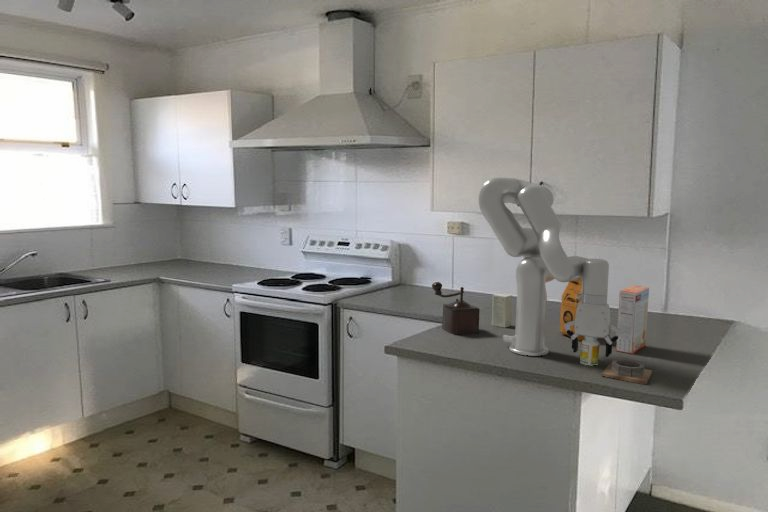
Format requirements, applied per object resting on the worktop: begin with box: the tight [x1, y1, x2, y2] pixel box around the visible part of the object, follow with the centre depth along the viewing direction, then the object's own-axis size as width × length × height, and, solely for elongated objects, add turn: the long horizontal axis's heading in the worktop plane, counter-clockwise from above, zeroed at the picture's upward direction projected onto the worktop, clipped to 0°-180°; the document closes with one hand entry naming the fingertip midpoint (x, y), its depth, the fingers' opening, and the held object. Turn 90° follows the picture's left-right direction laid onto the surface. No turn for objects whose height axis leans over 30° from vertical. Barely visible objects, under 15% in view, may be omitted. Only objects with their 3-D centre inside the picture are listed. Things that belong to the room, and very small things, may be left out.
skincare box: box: [491, 293, 512, 328], centre depth 238 cm, size 6×4×12 cm
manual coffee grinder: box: [431, 281, 480, 336], centre depth 228 cm, size 16×11×18 cm
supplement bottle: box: [579, 336, 601, 366], centre depth 191 cm, size 5×5×10 cm
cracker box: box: [615, 285, 650, 355], centre depth 210 cm, size 14×6×21 cm, turn 141°
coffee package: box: [559, 279, 585, 342], centre depth 223 cm, size 10×12×22 cm
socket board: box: [601, 358, 653, 386], centre depth 181 cm, size 12×12×4 cm
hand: (591, 353), depth 191 cm, fingers open, 9 cm apart
